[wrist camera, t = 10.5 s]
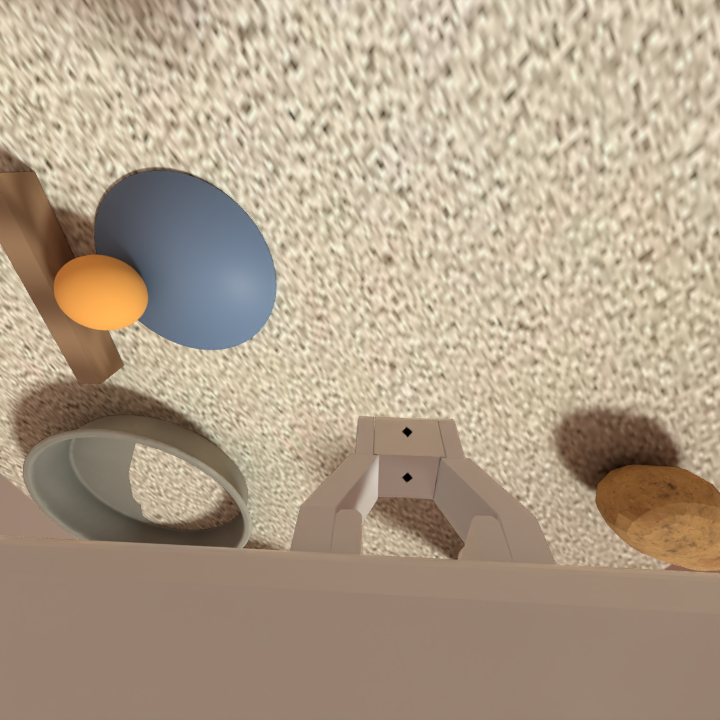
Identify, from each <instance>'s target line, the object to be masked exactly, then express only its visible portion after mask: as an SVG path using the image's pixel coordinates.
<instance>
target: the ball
mask: <svg viewBox="0 0 720 720" xmlns="http://www.w3.org/2000/svg"><path fill="white" fill-rule="evenodd" d="M54 295H55V299H56V301H57V303H58V305H59V307H60V308H61V309H62V311H63V312H64V313H65V314H66V315H67V316H68V317H69V318H71V319H72V320H74V321H75V322H77V323H79V324H81V325H83V326H85V327H88V328H92V329H96V330H117V329H121V328H124V327H127V326H129V325H131V324H133V323H134V322H135V321H137V320H138V319H139V318H140V317H141V316H142V314H143V313H144V311H145V309H146V307H147V303H148V291H147V288H146V285H145V282H144V281H143V279H142V277H141V276H140V275H139V274H138V273H137V272H136V270H135V269H133V268H132V267H131V266H129V265H128V264H126V263H125V262H123V261H121V260H119V259H116V258H113V257H110V256H105V255H85V256H81V257H78V258H75V259H73V260H71V261H69V262H68V263H66V264H65V265H64V266H63V267H62V268H61V269H60V270H59V272H58V273H57V275H56V277H55V281H54Z"/></svg>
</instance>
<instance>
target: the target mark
mask: <svg viewBox="0 0 720 720" xmlns="http://www.w3.org/2000/svg"><path fill="white" fill-rule="evenodd" d="M94 238H95V247H96V252H97V255H105V256H110V257H113V258H116V259H119V260H121V261H123V262H125V263H126V264H128V265H129V266H131V267H132V268H133V269H135V270H136V272H137V273H138V274H139V275H140V276H141V277H142V279H143V281H144V282H145V285H146V288H147V291H148V303H147V307H146V309H145V311H144V313H143V314H142V316H141V317H140V318H139V319H138V320H139V321H140V322H141V323H142V324H144V325H145V326H146V327H147V328H149V329H150V330H152V331H154V332H155V333H157V334H158V335H160V336H162V337H164V338H166V339H168V340H170V341H172V342H175V343H177V344H180V345H183V346H187V347H191V348H196V349H204V350H220V349H226V348H231V347H234V346H237V345H239V344H242V343H244V342H246V341H247V340H249V339H250V338H252V337H253V336H254V335H255V334H256V333H258V332H259V331H260V329H261V328H262V327H263V326H264V324H265V323H266V321H267V320H268V318H269V316H270V314H271V312H272V309H273V306H274V302H275V297H276V273H275V268H274V263H273V260H272V257H271V254H270V251H269V248H268V246H267V244H266V242H265V240H264V238H263V236H262V234H261V233H260V231H259V229H258V228H257V226H256V225H255V223H254V222H253V221H252V220H251V218H250V217H249V216H248V214H247V213H246V212H245V211H244V210H243V209H242V208H241V207H240V206H239V205H238V204H237V203H236V202H235V201H233V200H232V199H231V198H230V197H229V196H227V195H226V194H225V193H223V192H222V191H220V190H219V189H217V188H216V187H214V186H213V185H211V184H209V183H207V182H205V181H203V180H201V179H198V178H196V177H193V176H190V175H187V174H183V173H178V172H174V171H160V170H159V171H147V172H142V173H138V174H135V175H132V176H130V177H128V178H126V179H124V180H122V181H121V182H119V183H118V184H117V185H115V186H114V187H113V188H112V189H111V190H110V191H109V193H108V194H107V195H106V196H105V198H104V200H103V201H102V203H101V205H100V208H99V211H98V213H97V217H96V222H95V236H94Z"/></svg>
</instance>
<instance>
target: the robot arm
mask: <svg viewBox="0 0 720 720" xmlns="http://www.w3.org/2000/svg"><path fill="white" fill-rule="evenodd" d="M378 497H404V498H419V499H433V501H434V502H435V504H436V505H437V507H438V508H439V509H440V511H441V512H442V513H443V515H444V516H445V517H446V519H447V520H448V522H449V523H450V524H451V526H452V527H453V528H454V530H455V531H456V533H457V534H458V535H459V537H460V538H461V539H462V541H463V542H464V543H465V546H464V549H463V553H462V556H461V560H456V559H437V558H418V557H399V556H380V555H362V522H363V521H364V519H365V518H366V516H367V515H368V513H369V512H370V510H371V509H372V507H373V505H374V504H375V502H376V501H377V499H378ZM0 720H720V573H707V572H689V571H670V570H651V569H632V568H613V567H593V566H574V565H556V562H555V560H554V558H553V555H552V553H551V551H550V549H549V546H548V544H547V542H546V539H545V537H544V535H543V532H542V530H541V528H540V525H539V523H538V521H537V518H536V517H535V516H534V515H533V514H532V513H531V512H530V511H529V510H527V509H526V508H525V507H524V506H523V505H522V504H521V503H520V502H518V501H517V500H516V499H515V498H514V497H513V496H512V495H511V494H509V493H508V492H507V491H506V490H505V489H504V488H503V487H502V486H500V485H499V484H498V483H497V482H496V481H495V480H494V479H493V478H491V477H490V476H489V475H488V474H487V473H486V472H485V471H484V470H482V469H481V468H480V467H479V466H478V465H477V464H476V463H475V462H473V461H472V460H471V459H470V458H465V456H464V452H463V449H462V445H461V442H460V438H459V435H458V431H457V428H456V424H455V421H454V420H453V419H421V418H393V417H375V429H374V417H368V416H359V418H358V425H357V436H356V447H355V454H350V455H349V456H348V457H347V458H346V459H345V460H344V461H343V462H342V463H341V464H340V465H339V466H338V467H337V469H336V470H335V471H334V472H333V473H332V474H331V475H330V476H329V477H328V478H327V479H326V480H325V481H324V482H323V483H322V484H321V485H320V486H319V487H318V488H317V489H316V490H315V491H314V492H313V494H312V495H311V496H310V497H309V498H308V499H307V500H306V501H305V502H304V503H303V504H302V505H301V506H300V510H299V515H298V519H297V523H296V527H295V531H294V535H293V540H292V544H291V548H290V551H285V550H266V549H246V548H227V547H208V546H189V545H170V544H151V543H131V542H112V541H93V540H74V539H55V538H35V537H16V536H0Z"/></svg>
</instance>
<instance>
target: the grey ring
mask: <svg viewBox="0 0 720 720" xmlns="http://www.w3.org/2000/svg"><path fill="white" fill-rule="evenodd" d="M135 443H139V444H143V445H147V446H150V447H153V448H156V449H159V450H162V451H164V452H167V453H169V454H171V455H174V456H176V457H178V458H180V459H182V460H185V461H186V462H188V463H190V464H192V465H194V466H195V467H197V468H198V469H200V470H202V471H203V472H205V473H206V474H207V475H209V476H210V477H212V478H213V479H214V480H215V481H217V482H218V483H219V484H220V485H221V486H222V487H223V488H224V489H225V490H226V491H227V492H228V493H229V494H230V495H231V496H232V498H233V499H234V500H235V502H236V503H237V505H238V507H239V509H240V511H241V513H240V514H239V515H238V516H237V517H236V518H235V519H233V520H232V521H230V522H228V523H226V524H224V525H222V526H219V527H215V528H211V529H204V530H182V529H174V528H168V527H165V526H161V525H156V524H154V523H152V522H151V521H149V520H148V519H146V518H145V517H144V516H143V515H142V510H141V505H140V504H139V503H137V502H136V501H135V499H134V498H133V496H132V490H131V485H130V479H129V468H130V463H131V459H132V455H133V451H134V447H135ZM23 477H24V482H25V484H26V487H27V489H28V491H29V493H30V495H31V497H32V498H33V500H34V501H35V503H36V504H37V505H38V506H39V508H40V509H41V510H42V511H43V512H44V513H45V514H46V515H47V516H48V517H50V518H51V519H52V520H53V521H54V522H55V523H57V524H58V525H59V526H60V527H62V528H63V529H65V530H66V531H67V532H69V533H70V534H72V535H74V536H75V537H77V538H79V539H81V540H93V541H112V542H131V543H151V544H170V545H189V546H208V547H227V548H243V547H244V546H245V545H246V543H247V542H248V540H249V538H250V535H251V530H252V521H251V516H250V512H249V510H248V507H247V502H248V489H247V485H246V482H245V479H244V477H243V475H242V473H241V471H240V470H239V468H238V467H237V466H236V464H235V463H234V462H233V461H232V460H231V459H230V457H229V456H228V455H226V454H225V453H224V452H223V451H222V450H221V449H220V448H218V447H217V446H216V445H214V444H213V443H212V442H210V441H209V440H207V439H205V438H204V437H202V436H200V435H198V434H197V433H195V432H193V431H191V430H188V429H186V428H184V427H182V426H179V425H176V424H174V423H171V422H167V421H164V420H160V419H156V418H152V417H146V416H138V415H113V416H106V417H102V418H98V419H96V420H93V421H91V422H89V423H87V424H85V425H83V426H82V427H80V428H78V429H77V430H71V431H66V432H62V433H58V434H55V435H52V436H50V437H47V438H45V439H44V440H42V441H40V442H39V443H37V444H36V445H35V446H34V447H33V448H32V449H31V450H30V451H29V453H28V454H27V456H26V458H25V461H24V465H23Z"/></svg>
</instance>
